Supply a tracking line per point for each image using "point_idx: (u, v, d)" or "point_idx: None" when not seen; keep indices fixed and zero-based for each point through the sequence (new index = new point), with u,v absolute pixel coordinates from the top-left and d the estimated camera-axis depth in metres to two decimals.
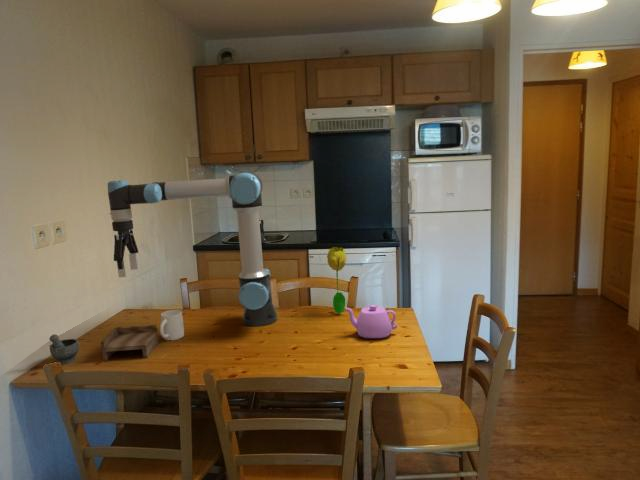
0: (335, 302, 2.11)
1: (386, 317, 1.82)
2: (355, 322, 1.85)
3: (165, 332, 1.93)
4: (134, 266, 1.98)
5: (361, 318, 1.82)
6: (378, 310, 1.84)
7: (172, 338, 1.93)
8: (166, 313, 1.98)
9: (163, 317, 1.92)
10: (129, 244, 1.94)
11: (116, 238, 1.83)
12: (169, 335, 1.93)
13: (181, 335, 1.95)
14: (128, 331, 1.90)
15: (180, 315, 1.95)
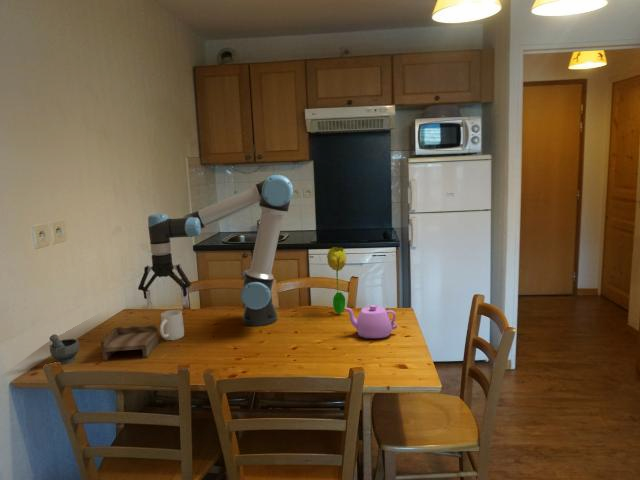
0: (335, 302, 2.11)
1: (386, 317, 1.82)
2: (355, 322, 1.85)
3: (165, 332, 1.93)
4: None
5: (361, 318, 1.82)
6: (378, 310, 1.84)
7: (172, 338, 1.93)
8: (166, 313, 1.98)
9: (163, 317, 1.92)
10: None
11: None
12: (169, 335, 1.93)
13: (181, 335, 1.95)
14: (128, 331, 1.90)
15: (180, 315, 1.95)
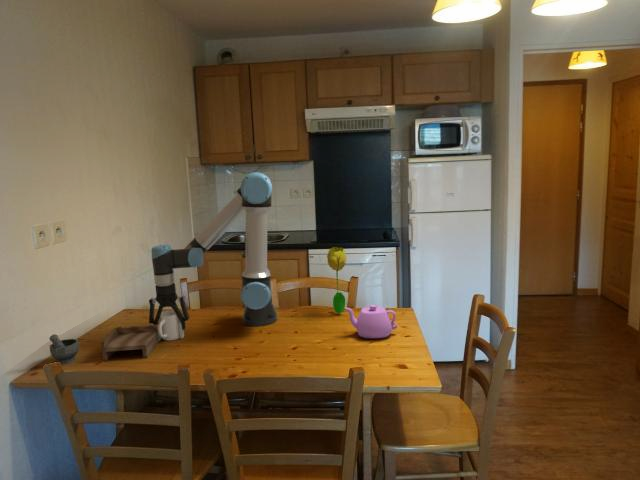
0: (335, 302, 2.11)
1: (386, 317, 1.82)
2: (355, 322, 1.85)
3: (163, 332, 1.93)
4: None
5: (361, 318, 1.82)
6: (378, 310, 1.84)
7: (171, 338, 1.93)
8: (164, 313, 1.98)
9: (161, 317, 1.92)
10: None
11: None
12: (168, 335, 1.93)
13: None
14: (128, 331, 1.90)
15: None
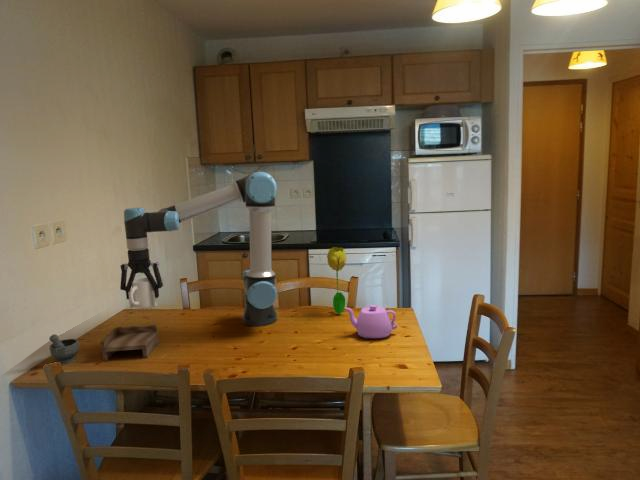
0: (335, 302, 2.11)
1: (386, 317, 1.82)
2: (355, 322, 1.85)
3: (135, 299, 1.84)
4: None
5: (361, 318, 1.82)
6: (378, 310, 1.84)
7: (143, 306, 1.84)
8: (138, 280, 1.89)
9: (133, 283, 1.83)
10: None
11: None
12: (139, 303, 1.84)
13: (152, 303, 1.86)
14: (128, 331, 1.90)
15: None
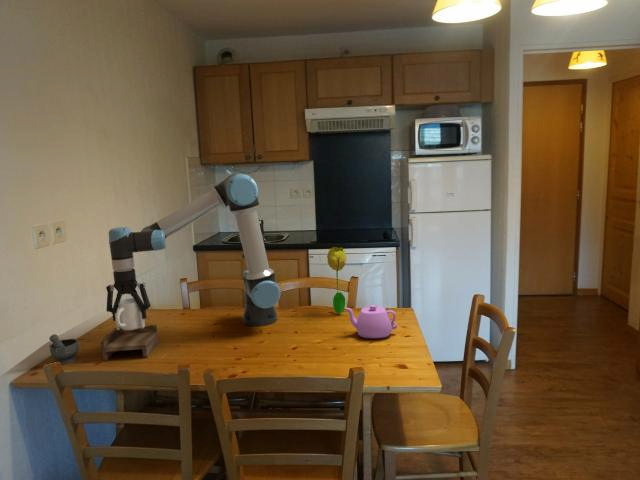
0: (335, 302, 2.11)
1: (386, 317, 1.82)
2: (355, 322, 1.85)
3: (122, 321, 1.80)
4: None
5: (361, 318, 1.82)
6: (378, 310, 1.84)
7: (130, 328, 1.80)
8: (124, 301, 1.85)
9: (120, 305, 1.79)
10: None
11: None
12: (126, 324, 1.80)
13: (140, 325, 1.82)
14: (128, 331, 1.90)
15: None
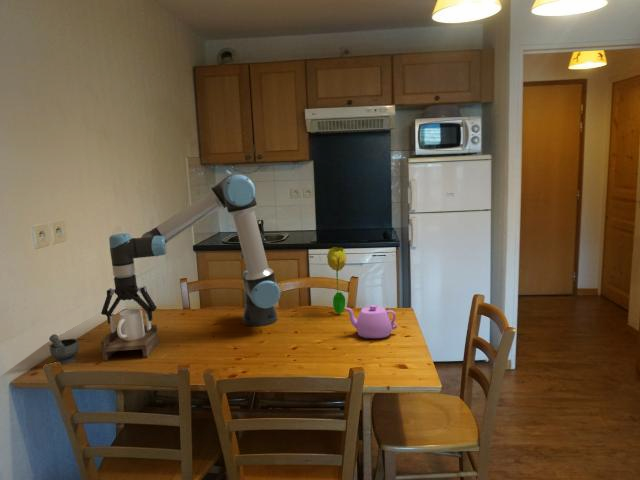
0: (335, 302, 2.11)
1: (386, 317, 1.82)
2: (355, 322, 1.85)
3: (123, 332, 1.81)
4: None
5: (361, 318, 1.82)
6: (378, 310, 1.84)
7: (131, 338, 1.81)
8: (125, 312, 1.86)
9: (121, 316, 1.80)
10: None
11: None
12: (128, 335, 1.80)
13: (141, 335, 1.83)
14: None
15: (140, 314, 1.82)
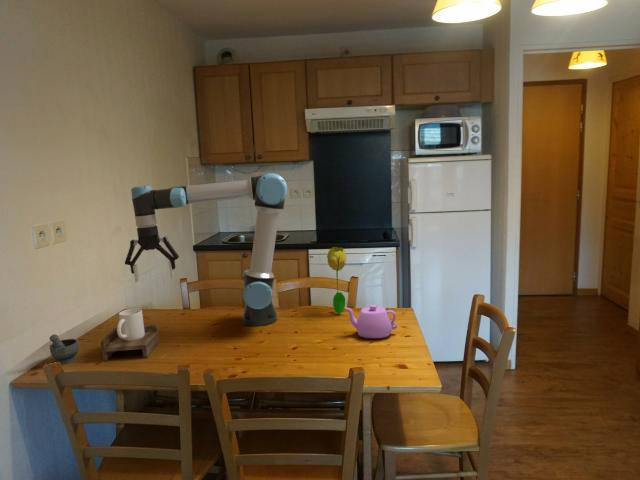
0: (335, 302, 2.11)
1: (386, 317, 1.82)
2: (355, 322, 1.85)
3: (123, 332, 1.81)
4: None
5: (361, 318, 1.82)
6: (378, 310, 1.84)
7: (131, 338, 1.81)
8: (125, 312, 1.86)
9: (121, 316, 1.80)
10: None
11: None
12: (128, 335, 1.80)
13: (141, 335, 1.83)
14: None
15: (140, 314, 1.82)
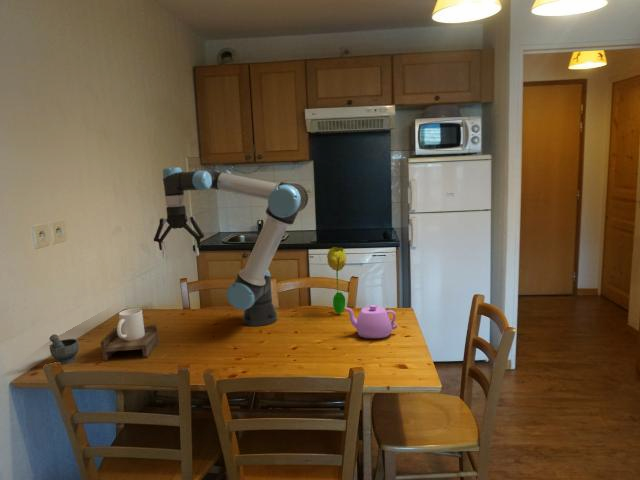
0: (335, 302, 2.11)
1: (386, 317, 1.82)
2: (355, 322, 1.85)
3: (123, 332, 1.81)
4: None
5: (361, 318, 1.82)
6: (378, 310, 1.84)
7: (131, 338, 1.81)
8: (125, 312, 1.86)
9: (121, 316, 1.80)
10: None
11: None
12: (128, 335, 1.80)
13: (141, 335, 1.83)
14: None
15: (140, 314, 1.82)
